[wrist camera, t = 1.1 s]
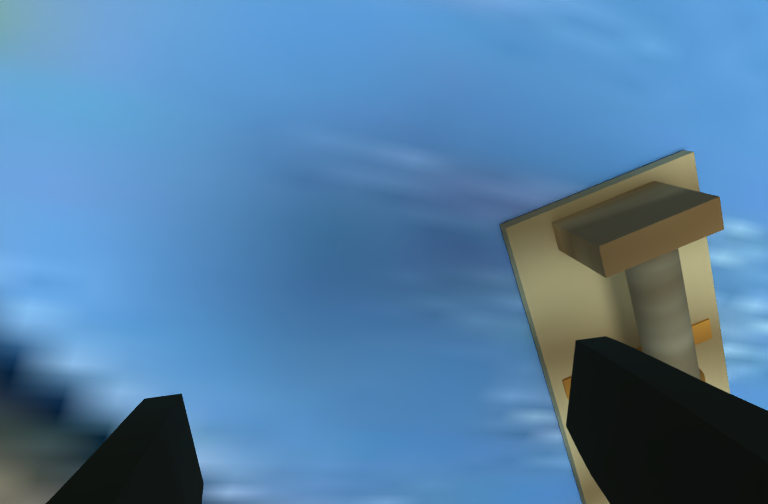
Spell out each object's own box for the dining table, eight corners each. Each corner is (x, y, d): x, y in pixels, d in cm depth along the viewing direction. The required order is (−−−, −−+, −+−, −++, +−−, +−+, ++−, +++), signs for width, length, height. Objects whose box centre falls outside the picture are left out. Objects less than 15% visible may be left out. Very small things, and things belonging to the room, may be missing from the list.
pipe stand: (758, 629, 31) (824, 705, 27) (636, 684, 30) (685, 770, 26) (682, 150, 21) (770, 163, 17) (499, 224, 20) (547, 255, 17)
